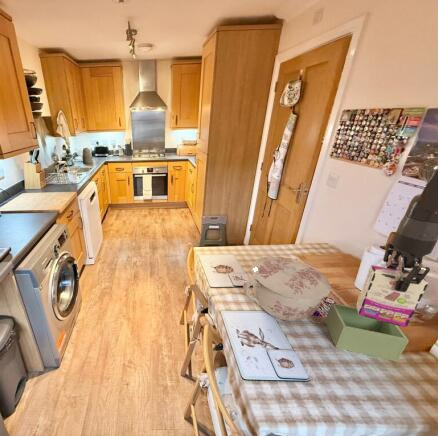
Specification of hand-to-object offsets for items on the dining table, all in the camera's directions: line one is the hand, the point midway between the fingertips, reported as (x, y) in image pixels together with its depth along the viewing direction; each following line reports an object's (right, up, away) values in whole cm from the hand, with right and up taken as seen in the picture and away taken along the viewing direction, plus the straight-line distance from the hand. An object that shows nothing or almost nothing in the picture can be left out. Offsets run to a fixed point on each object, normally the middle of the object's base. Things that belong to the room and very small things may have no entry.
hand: (393, 284), depth 68 cm
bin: (+2, -24, +14) cm, 28 cm away
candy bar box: (0, -12, +5) cm, 13 cm away
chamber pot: (-16, -19, +30) cm, 39 cm away
